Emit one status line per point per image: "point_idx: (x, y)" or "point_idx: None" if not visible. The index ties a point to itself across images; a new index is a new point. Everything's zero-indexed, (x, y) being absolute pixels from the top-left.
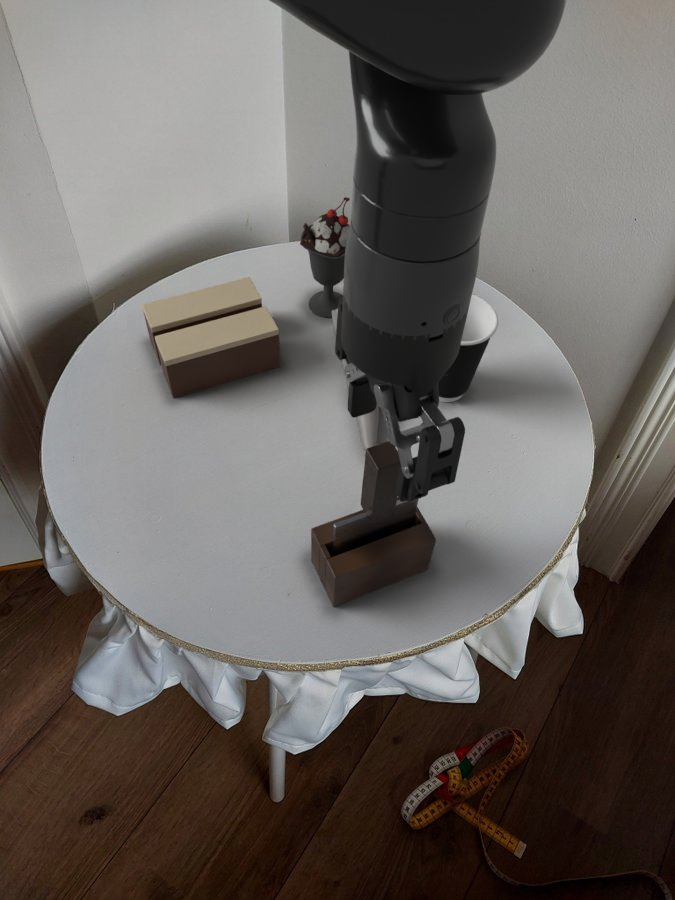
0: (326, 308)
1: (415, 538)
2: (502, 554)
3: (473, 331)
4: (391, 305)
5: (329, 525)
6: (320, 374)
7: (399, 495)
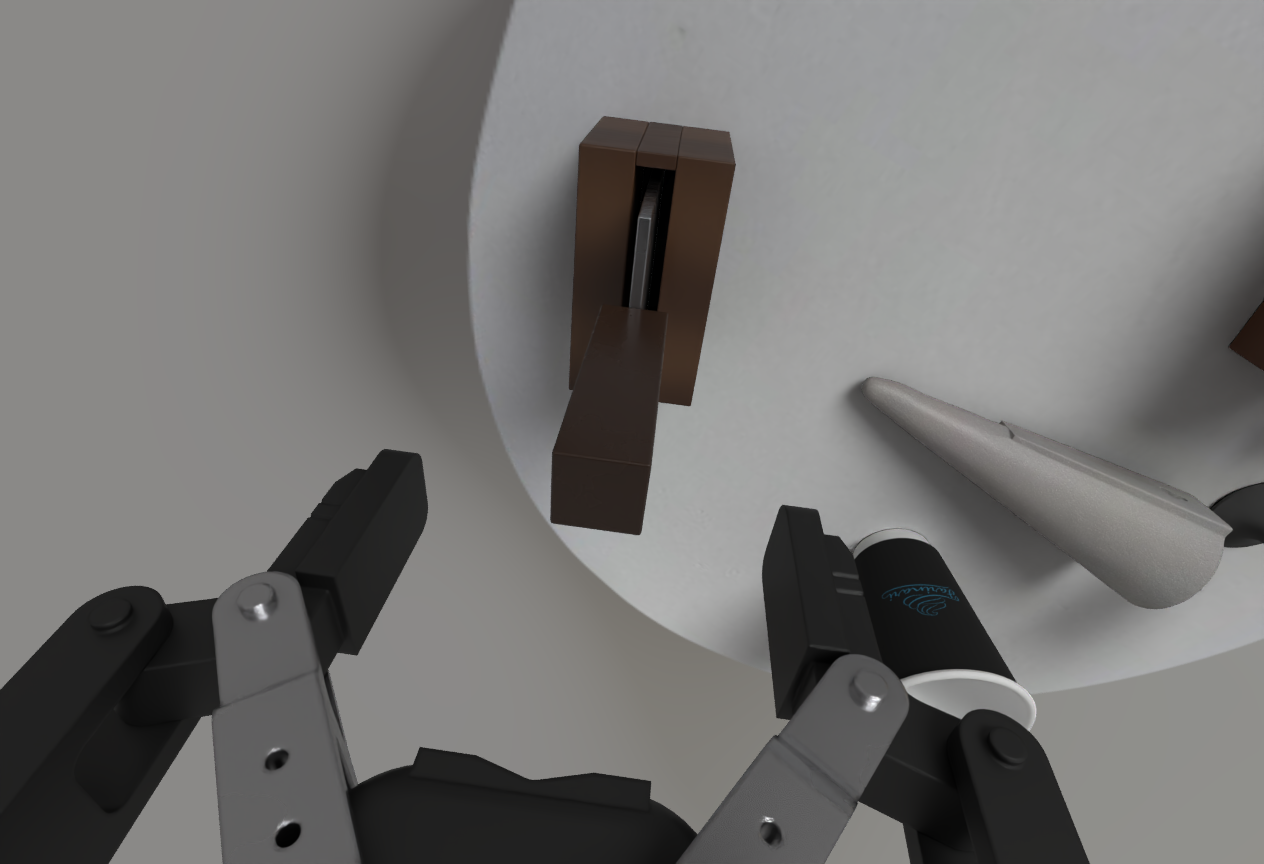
0: (1249, 509)
1: None
2: None
3: (920, 683)
4: None
5: (716, 211)
6: (1118, 406)
7: (376, 465)
